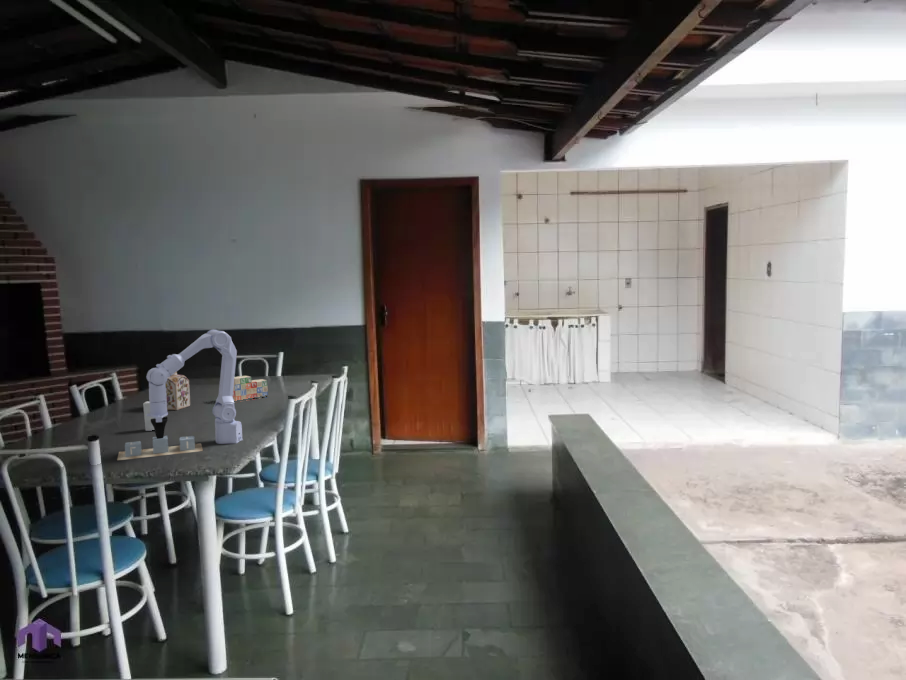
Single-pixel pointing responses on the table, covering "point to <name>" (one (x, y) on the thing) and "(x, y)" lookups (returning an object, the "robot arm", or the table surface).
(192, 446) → the block with a 1
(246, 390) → the stack of blocks
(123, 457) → the birch board
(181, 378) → the decorative jar
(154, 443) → the plain block
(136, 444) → the block with a 7
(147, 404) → the skincare box
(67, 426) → the table surface
